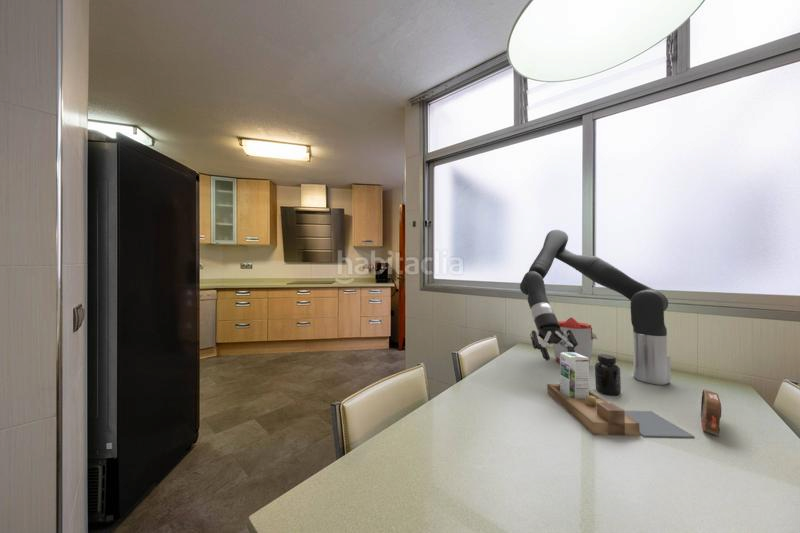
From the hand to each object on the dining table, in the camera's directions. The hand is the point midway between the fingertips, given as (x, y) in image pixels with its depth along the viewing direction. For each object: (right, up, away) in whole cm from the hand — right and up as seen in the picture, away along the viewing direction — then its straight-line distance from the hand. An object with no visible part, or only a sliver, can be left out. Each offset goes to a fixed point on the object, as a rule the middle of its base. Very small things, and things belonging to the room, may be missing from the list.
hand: (560, 359), depth 92 cm
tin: (+27, -11, -21) cm, 35 cm away
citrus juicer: (+22, -11, +28) cm, 38 cm away
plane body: (0, -11, -13) cm, 17 cm away
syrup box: (0, -11, -7) cm, 13 cm away
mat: (+12, -10, -19) cm, 25 cm away
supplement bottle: (+15, -11, -1) cm, 19 cm away
